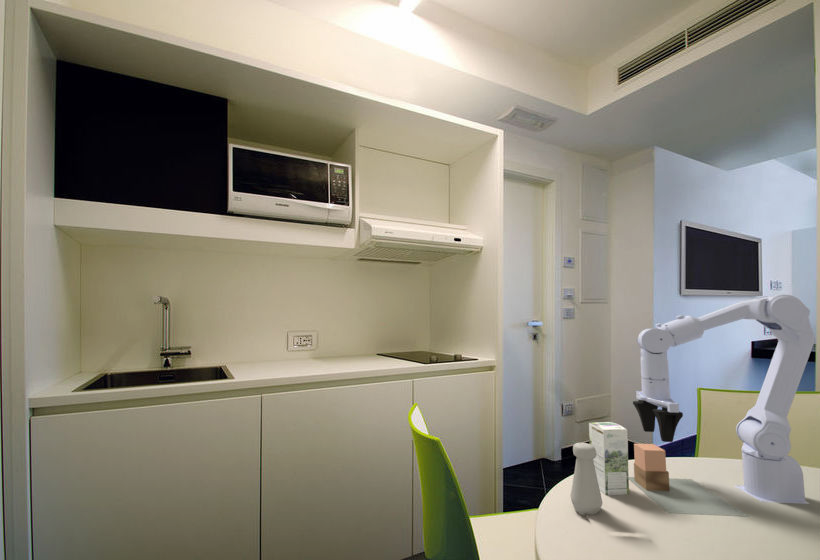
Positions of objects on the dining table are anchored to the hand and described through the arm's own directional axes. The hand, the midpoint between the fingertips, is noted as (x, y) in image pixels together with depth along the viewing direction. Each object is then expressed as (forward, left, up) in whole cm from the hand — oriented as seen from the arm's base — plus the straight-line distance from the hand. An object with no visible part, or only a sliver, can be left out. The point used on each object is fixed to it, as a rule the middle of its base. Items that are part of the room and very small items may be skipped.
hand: (657, 436), depth 93 cm
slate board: (0, +8, -10) cm, 13 cm away
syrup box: (+14, +6, -11) cm, 19 cm away
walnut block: (+4, +4, -10) cm, 11 cm away
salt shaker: (+23, +16, -11) cm, 30 cm away
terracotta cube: (+4, +4, -6) cm, 8 cm away
